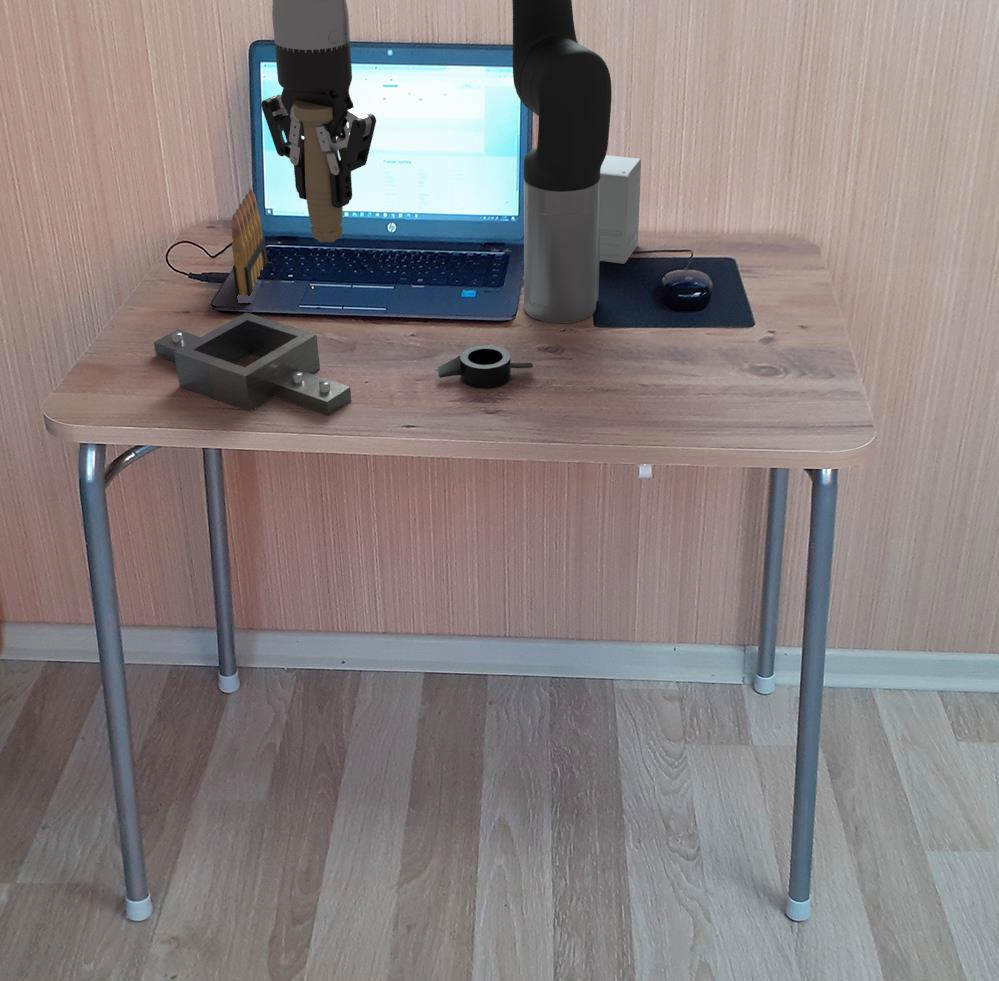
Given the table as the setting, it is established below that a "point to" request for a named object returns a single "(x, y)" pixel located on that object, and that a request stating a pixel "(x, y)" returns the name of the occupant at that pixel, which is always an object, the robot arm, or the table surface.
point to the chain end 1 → (215, 349)
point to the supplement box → (619, 208)
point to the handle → (318, 174)
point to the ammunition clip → (247, 245)
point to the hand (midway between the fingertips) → (324, 200)
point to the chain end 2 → (280, 376)
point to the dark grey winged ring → (482, 367)
